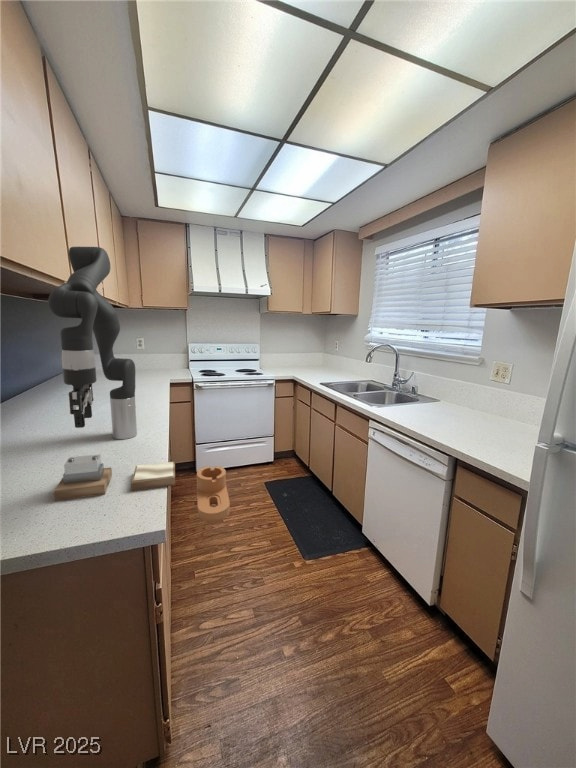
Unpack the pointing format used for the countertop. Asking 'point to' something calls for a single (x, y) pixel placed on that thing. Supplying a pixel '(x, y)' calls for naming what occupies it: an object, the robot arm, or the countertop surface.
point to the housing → (83, 469)
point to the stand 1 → (83, 487)
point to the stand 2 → (153, 476)
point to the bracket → (212, 494)
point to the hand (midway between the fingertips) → (84, 422)
